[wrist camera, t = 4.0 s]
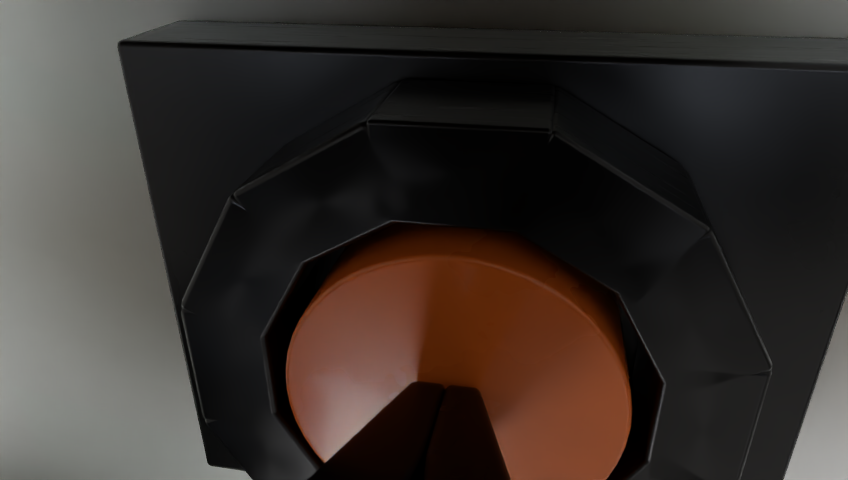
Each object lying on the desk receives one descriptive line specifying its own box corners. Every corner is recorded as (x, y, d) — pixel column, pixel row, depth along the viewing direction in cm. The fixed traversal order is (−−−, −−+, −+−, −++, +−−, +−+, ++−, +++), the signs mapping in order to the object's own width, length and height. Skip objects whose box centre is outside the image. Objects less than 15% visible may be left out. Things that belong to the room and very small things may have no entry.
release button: (643, 205, 8) (660, 274, 7) (603, 458, 11) (609, 554, 9) (314, 183, 9) (264, 240, 8) (336, 422, 11) (300, 505, 10)
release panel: (866, 38, 9) (1022, 114, 6) (739, 472, 13) (793, 658, 10) (176, 20, 11) (18, 71, 8) (244, 407, 14) (156, 547, 11)
